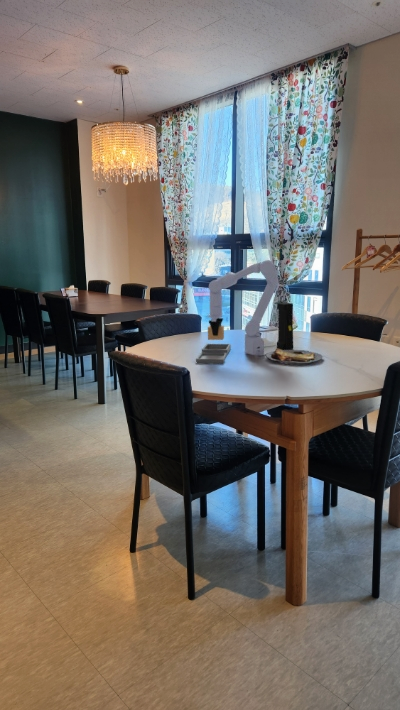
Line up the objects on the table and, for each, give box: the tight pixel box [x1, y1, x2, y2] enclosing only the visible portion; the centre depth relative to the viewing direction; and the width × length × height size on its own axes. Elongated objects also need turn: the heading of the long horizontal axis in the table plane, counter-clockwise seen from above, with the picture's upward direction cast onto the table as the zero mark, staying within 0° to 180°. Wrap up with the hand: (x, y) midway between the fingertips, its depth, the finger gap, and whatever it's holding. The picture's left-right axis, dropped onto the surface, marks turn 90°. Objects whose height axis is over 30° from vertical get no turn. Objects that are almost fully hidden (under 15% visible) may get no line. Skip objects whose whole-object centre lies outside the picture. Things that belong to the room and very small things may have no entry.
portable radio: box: [276, 297, 295, 351], centre depth 232 cm, size 8×6×25 cm
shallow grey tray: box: [195, 351, 228, 365], centre depth 214 cm, size 15×12×2 cm
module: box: [207, 324, 225, 341], centre depth 226 cm, size 5×7×7 cm
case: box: [201, 343, 232, 356], centre depth 228 cm, size 14×12×3 cm
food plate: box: [264, 348, 324, 365], centre depth 212 cm, size 25×23×4 cm
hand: (216, 334), depth 226 cm, fingers closed on module, 5 cm apart
